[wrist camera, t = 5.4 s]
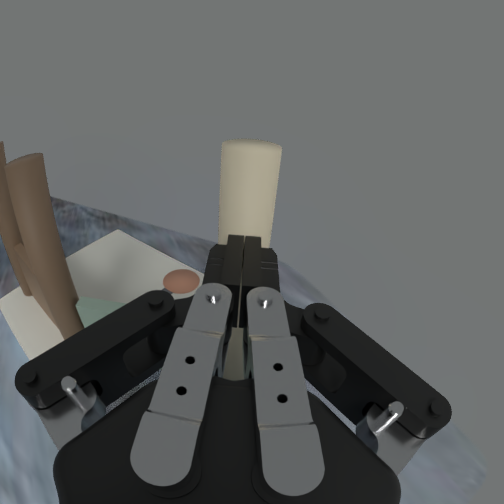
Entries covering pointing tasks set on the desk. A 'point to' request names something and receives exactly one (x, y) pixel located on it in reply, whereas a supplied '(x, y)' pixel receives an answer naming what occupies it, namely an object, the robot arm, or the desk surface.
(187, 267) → the white board with posts
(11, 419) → the desk surface
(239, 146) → the l-shaped bracket
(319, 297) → the desk surface
